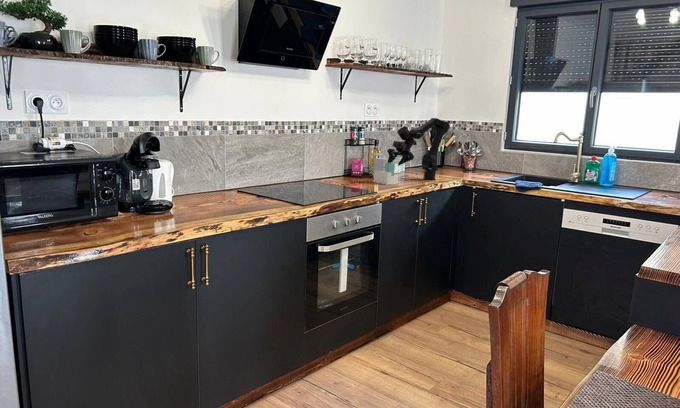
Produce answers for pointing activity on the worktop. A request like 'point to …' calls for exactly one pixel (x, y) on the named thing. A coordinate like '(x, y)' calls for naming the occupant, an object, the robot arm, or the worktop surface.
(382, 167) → the supplement box
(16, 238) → the worktop surface
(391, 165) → the teal rectangular block
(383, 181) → the socket
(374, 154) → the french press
